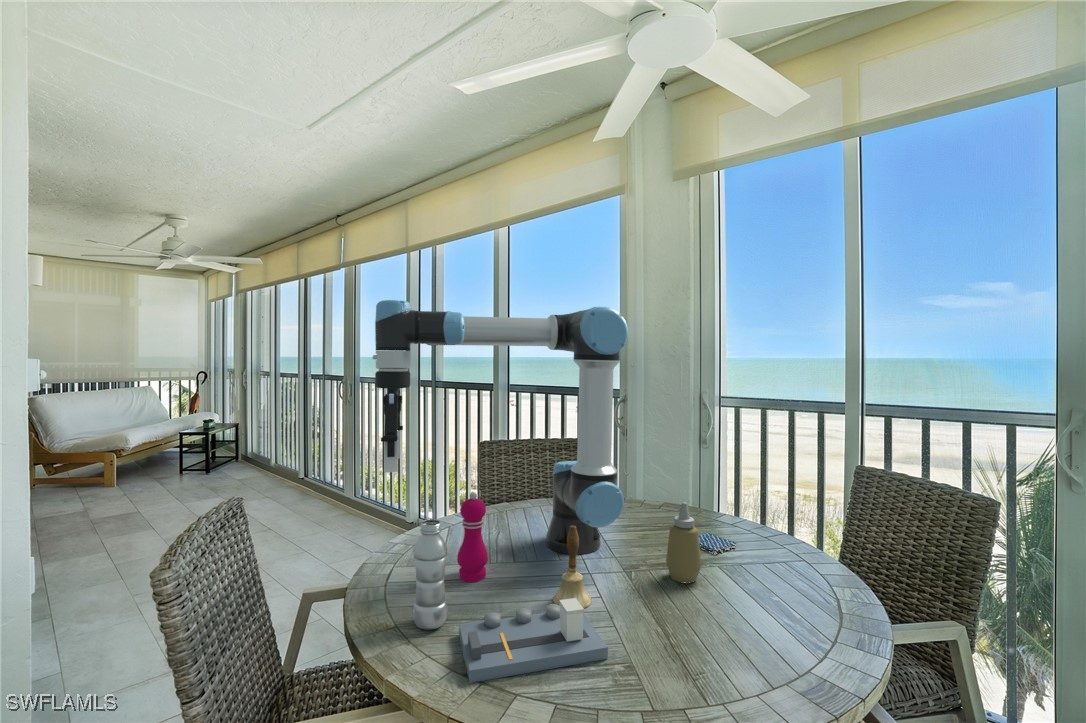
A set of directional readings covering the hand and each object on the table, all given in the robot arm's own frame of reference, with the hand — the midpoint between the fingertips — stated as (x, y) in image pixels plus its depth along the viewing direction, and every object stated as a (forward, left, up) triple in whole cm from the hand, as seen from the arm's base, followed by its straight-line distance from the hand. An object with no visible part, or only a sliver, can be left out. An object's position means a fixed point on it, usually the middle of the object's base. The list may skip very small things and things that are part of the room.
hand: (392, 465), depth 111 cm
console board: (-24, +30, -28) cm, 48 cm away
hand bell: (-37, +16, -28) cm, 49 cm away
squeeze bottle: (-66, +13, -28) cm, 73 cm away
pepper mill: (-18, -1, -28) cm, 33 cm away
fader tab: (-31, +32, -25) cm, 51 cm away
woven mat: (-85, -3, -28) cm, 90 cm away
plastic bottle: (-7, +18, -28) cm, 34 cm away
